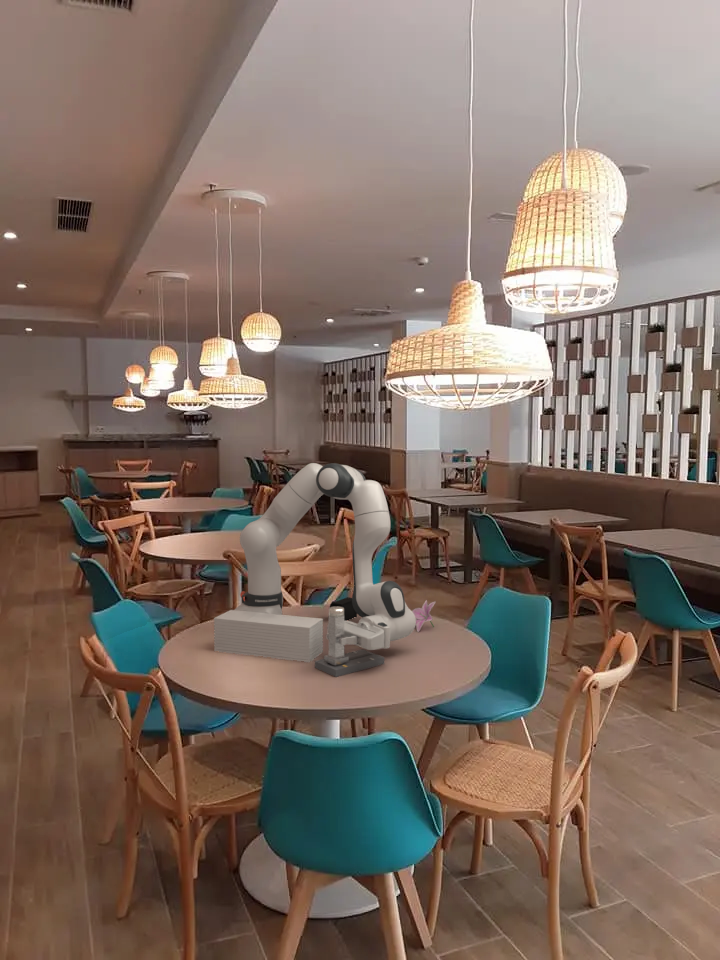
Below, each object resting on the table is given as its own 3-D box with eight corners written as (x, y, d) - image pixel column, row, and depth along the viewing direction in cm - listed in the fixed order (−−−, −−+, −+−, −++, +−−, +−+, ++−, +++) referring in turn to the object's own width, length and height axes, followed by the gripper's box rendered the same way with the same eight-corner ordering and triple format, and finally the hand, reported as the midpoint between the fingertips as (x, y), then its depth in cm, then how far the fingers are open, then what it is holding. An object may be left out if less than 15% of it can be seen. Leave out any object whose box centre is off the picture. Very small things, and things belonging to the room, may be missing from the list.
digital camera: (344, 615, 274) (344, 596, 273) (357, 617, 271) (357, 598, 271) (329, 621, 265) (329, 602, 265) (341, 623, 262) (341, 604, 262)
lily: (413, 625, 265) (403, 604, 261) (444, 613, 263) (434, 592, 259) (415, 644, 253) (405, 623, 250) (447, 633, 252) (437, 610, 248)
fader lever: (334, 665, 210) (334, 611, 209) (324, 661, 214) (324, 608, 213) (348, 662, 213) (348, 608, 212) (337, 657, 217) (338, 605, 216)
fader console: (335, 677, 207) (335, 669, 207) (314, 667, 215) (314, 660, 215) (384, 663, 219) (384, 656, 218) (362, 655, 226) (362, 648, 226)
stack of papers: (322, 652, 230) (322, 618, 229) (309, 663, 220) (309, 627, 219) (231, 642, 240) (230, 609, 239) (214, 652, 230) (213, 618, 229)
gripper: (349, 613, 229) (312, 620, 220) (393, 627, 213) (356, 636, 204) (349, 633, 229) (312, 641, 221) (393, 649, 214) (356, 658, 205)
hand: (333, 639), depth 212 cm, fingers open, 4 cm apart
